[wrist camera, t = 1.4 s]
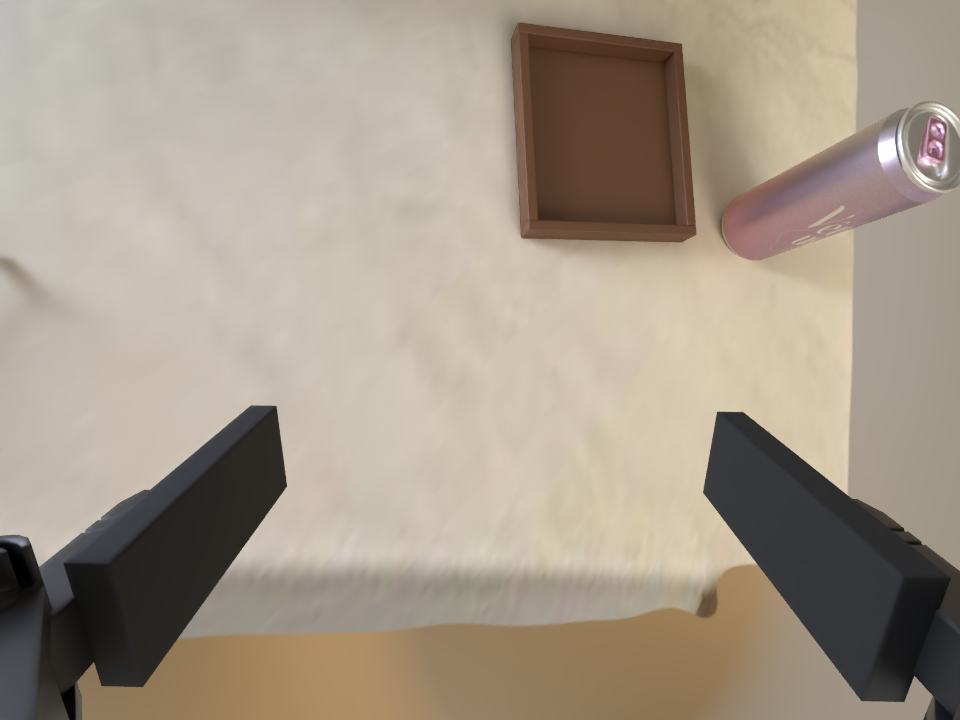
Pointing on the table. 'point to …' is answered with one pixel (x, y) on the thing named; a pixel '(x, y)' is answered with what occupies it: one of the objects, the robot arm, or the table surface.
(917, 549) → the robot arm
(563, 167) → the tray
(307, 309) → the table surface
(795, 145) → the table surface
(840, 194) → the beverage can
